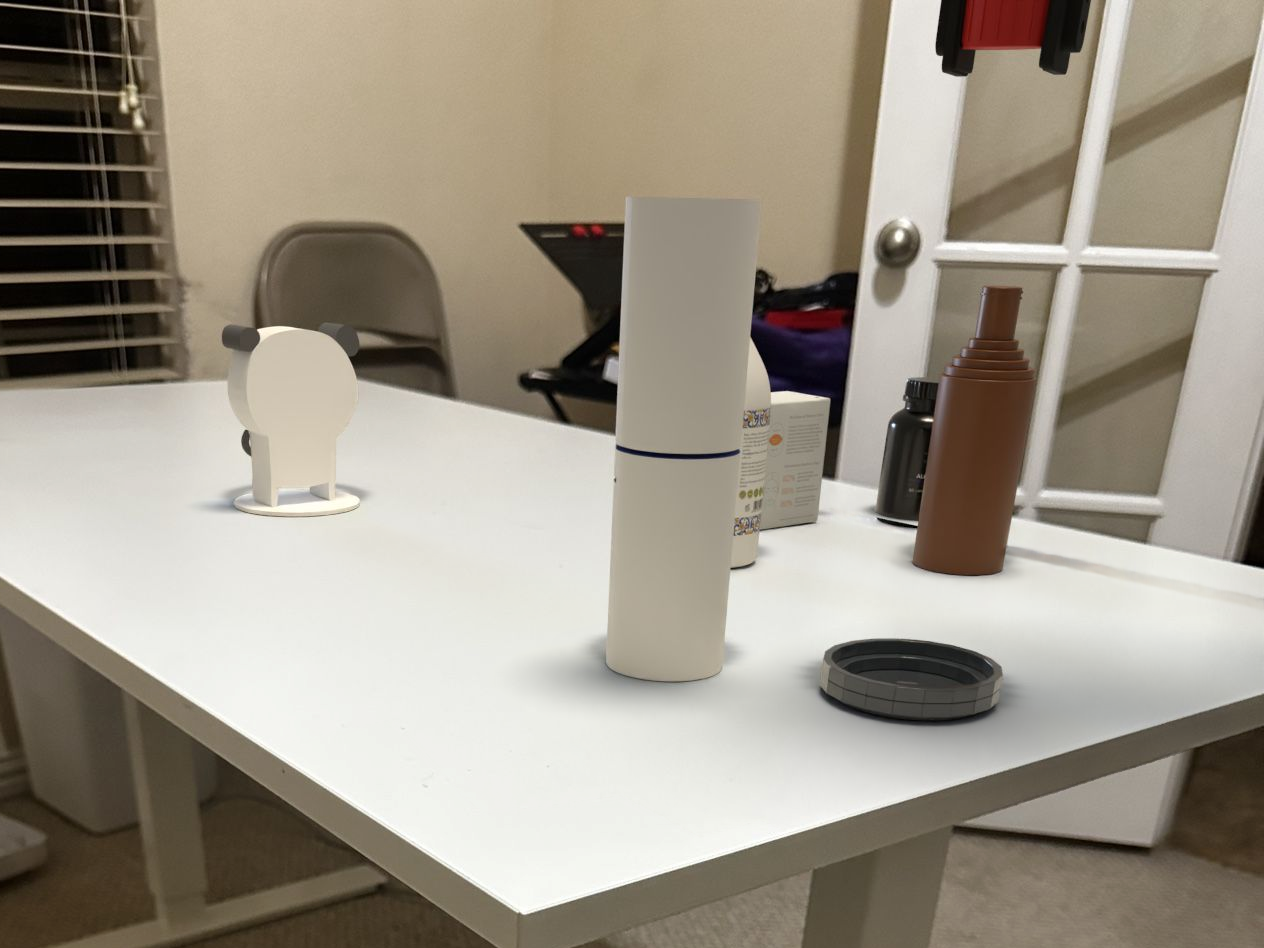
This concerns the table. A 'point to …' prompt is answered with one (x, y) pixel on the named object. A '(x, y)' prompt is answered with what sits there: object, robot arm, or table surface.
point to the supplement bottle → (907, 453)
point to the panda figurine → (293, 414)
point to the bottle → (977, 445)
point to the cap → (1004, 24)
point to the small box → (794, 459)
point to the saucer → (911, 678)
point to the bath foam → (752, 461)
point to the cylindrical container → (679, 431)
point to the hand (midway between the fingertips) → (1004, 68)
